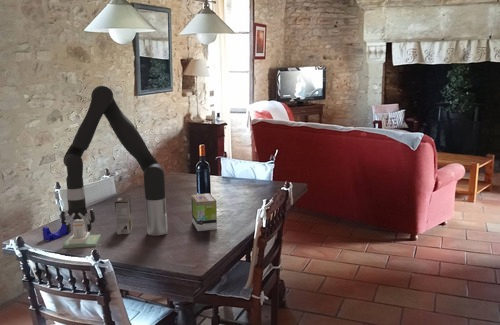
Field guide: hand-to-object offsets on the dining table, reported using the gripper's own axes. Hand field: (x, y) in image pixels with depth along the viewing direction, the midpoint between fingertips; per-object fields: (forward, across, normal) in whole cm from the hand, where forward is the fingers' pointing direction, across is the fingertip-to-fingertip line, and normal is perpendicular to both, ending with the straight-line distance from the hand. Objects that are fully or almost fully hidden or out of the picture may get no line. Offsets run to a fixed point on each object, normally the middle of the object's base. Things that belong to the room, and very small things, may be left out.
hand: (79, 231), depth 221 cm
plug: (+4, 0, 0) cm, 4 cm away
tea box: (+5, -56, -15) cm, 59 cm away
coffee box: (+5, -18, -13) cm, 23 cm away
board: (+5, -1, 0) cm, 5 cm away
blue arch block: (+6, +13, -10) cm, 17 cm away
